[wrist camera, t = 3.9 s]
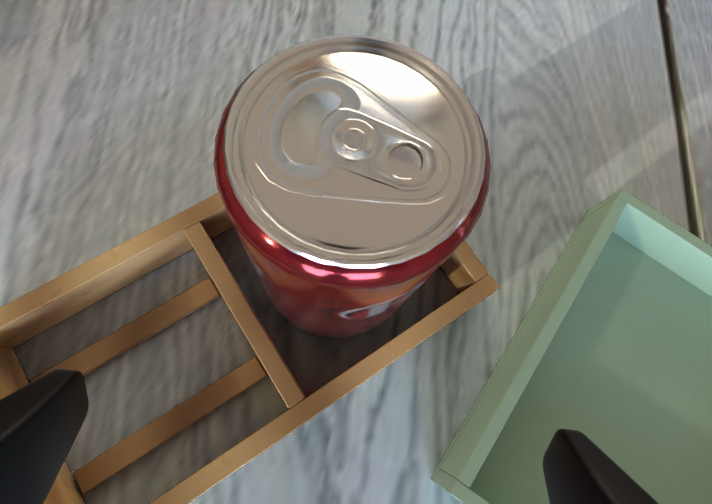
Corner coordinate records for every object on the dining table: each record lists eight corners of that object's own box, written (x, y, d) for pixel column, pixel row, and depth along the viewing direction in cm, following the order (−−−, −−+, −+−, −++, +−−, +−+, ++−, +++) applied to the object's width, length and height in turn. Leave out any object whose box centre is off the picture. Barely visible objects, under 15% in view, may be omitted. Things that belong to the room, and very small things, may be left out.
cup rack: (91, 567, 18) (56, 594, 16) (-12, 342, 20) (-55, 336, 18) (481, 298, 23) (500, 287, 20) (365, 138, 25) (370, 112, 23)
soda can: (234, 296, 22) (146, 192, 10) (306, 176, 24) (299, -18, 13) (369, 366, 21) (431, 339, 10) (430, 238, 24) (538, 95, 12)
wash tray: (713, 694, 19) (785, 748, 16) (429, 478, 20) (448, 493, 17) (823, 367, 23) (894, 363, 21) (586, 211, 25) (622, 187, 22)
